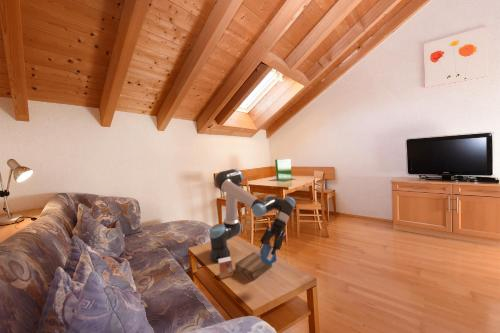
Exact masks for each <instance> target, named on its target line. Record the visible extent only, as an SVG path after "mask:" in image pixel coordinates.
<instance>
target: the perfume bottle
mask: <svg viewBox="0 0 500 333" xmlns="http://www.w3.org/2000/svg"><path fill="white" fill-rule="evenodd" d="M264 242H265V243H264V245H265V246H264V247H262V249H261V251H260V252H261V261H262V262H263V263H265V264H267V265H270V264H272V265H273V263H275V262H277V251H276V252H275V254H274V255H273V256H272V258H271V260H270V261H269V260H268V259H267V257H268V254H269V252H270V250H271V248H273V246H272V245H271V241H270V240H265V241H264Z"/></svg>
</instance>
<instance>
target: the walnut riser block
mask: <svg viewBox="0 0 500 333" xmlns="http://www.w3.org/2000/svg"><path fill="white" fill-rule="evenodd" d="M234 266H235V267H234V268H235V272H236V273H237V274H240V275H242V276H243V277H246V278H247V279H250V280H251V281H255V280H257V279H258V278H259V277H261V276H262V275H263V274H264V273H265V274H266V272H267V271H269V270H270V269H271V268H273V263H272V264H270V265H267V264H265V263H263V262H262V261H261V256H259V255H258V253H257V252H255V251H253V252H251V253H250V254H248V255H246V256H245V257H243V258H242V259H240V260H239V261H237V262H235V264H234Z"/></svg>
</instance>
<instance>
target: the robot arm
mask: <svg viewBox="0 0 500 333" xmlns="http://www.w3.org/2000/svg"><path fill="white" fill-rule="evenodd" d="M243 180H244V177H243V173H242V172H241V171H240V170H239V169H237V168H231V169H227V170H223V171H220V172H218V173H217V174H216V175H215V178H214V183H215V185H216V188H218V190H220V191H221V192H223V193H225V218H224V219H223V223H219V224H215V225H213V226H212V227H211V228H209V239H210V247H211V250H210V254H209V260H210V261H211V262H213V263H218V259H221V258H226V257H230V258H231V251H230V249H229V246H228V240H230V239H232V238H234V237H236V236H238V235H239V234H240V233H241V232H242V224H241V222H240V220H239V219H238V201H239V202H240V203H242V204H244V205H245V206H246V207H247V208H249V209H250V210H251V212H252V214H253V215H254V216H255V217H257V218H258V217H262V216H265V215H266V214H268V213H269V212H272V211H274V210H276V211H277V214H276V215H275V218H274V220H273V222H272V226H270V227H269V226H267V227H266V230H265V231H264V233H263V234H262V236H261V238H260V241H259V242H260V243H261V245H260V247H259V251H258V255H259V256H261V252H260V251H261V249H262V247H264V246H265V245H264V243H265V242H264V241H265V240H269V241H270V240H271V239H272V238H273V237H274V239H273V246H272V247H273V248H271V250H270V252H269V254H268V257H267V259H268V260H269V261H270V260H271V258H272V256H273V255H274V254H275V252H276V253H277V250H279V251H280V250H281V248H282V245H283V243H284V239H285V237H286V236H287V233H286V232H285V231H284V230H285V228H286V226H287V224H288V222H289V219H290V217H291V214H292V213H293V210H294V209H295V206H296V203H297V202H296V200H295V199H294V198H292V197H290V196H284V198H279V197H277V196H273V195H267V196H266V197H264V199H263V200H261V199H260V198H258V197H256V196H254V195H253V194H251V193H250V192H249V191H246V190H245V189H243V188H242V187H240V185H241V183H242V182H243Z"/></svg>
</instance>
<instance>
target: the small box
mask: <svg viewBox="0 0 500 333" xmlns="http://www.w3.org/2000/svg"><path fill="white" fill-rule="evenodd" d="M217 263H218V271H219V277H220V279H224V278H225V279H226V278H229V277H233V276H234V272H233V262H232V258H231V256H230V257H226V258H221V259H218V262H217Z"/></svg>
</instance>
